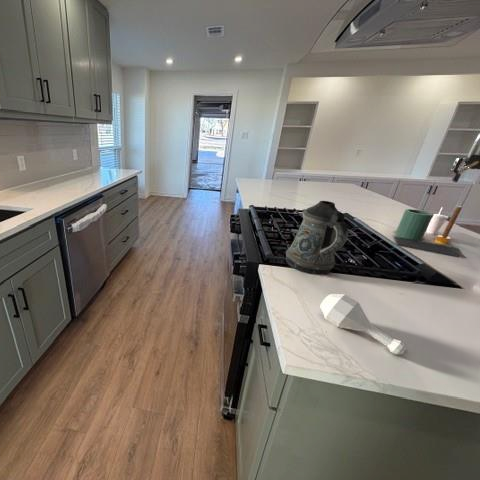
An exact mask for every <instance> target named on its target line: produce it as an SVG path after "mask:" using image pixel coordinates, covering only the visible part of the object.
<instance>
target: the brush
mask: <svg viewBox="0 0 480 480" xmlns="http://www.w3.org/2000/svg"><path fill="white" fill-rule="evenodd" d="M462 209H463V206H461V205H456V207H455V209H454V211H453V213H452V215H451V217H450V219H449V221H448V222H447V225H446V226H445V229H444V230H443V232H442V234H436V237H435V238H434V243H435V244H439V245H445V246H449V244H450V243H451V241H452V237H451V236H449V234H450V232H451V231H452V228H453V226H454V224H455V222H456V221H457V219H458V217H459V215H460V213H461V211H462Z"/></svg>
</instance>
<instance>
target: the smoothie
mask: <svg viewBox="0 0 480 480" xmlns="http://www.w3.org/2000/svg"><path fill="white" fill-rule="evenodd" d="M440 207H441V208H440V210H439V212H438V213H433V214H434V215H433V217H432V219H431V221H430V223H429V225H428V228H427V230H426V233H427V234H430V235H438V234H437V233H438V232H439V231H440V229H441V228H442V227H443V225H444V224H445V223H446V221H447V220H448V219H449V216H447V215H445V214H441V213H442V210H443V209H444V207H443V206H440Z"/></svg>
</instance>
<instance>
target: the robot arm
mask: <svg viewBox="0 0 480 480" xmlns="http://www.w3.org/2000/svg"><path fill="white" fill-rule="evenodd" d="M462 163H464V164H463V165H461V164H462ZM467 170H480V133H479V134H478V136H477V137H476V139H475V140H474V142H473V145H472V146H471V149H470V151H469V153H468V155H467V157H466V158H463V157H457V158H455V160H454V162H453V163H452V166H451V168H450V170H449V171H450V172H452V173H454V174H453V176H452V178H451V181H452V182H453V183H458V181H459V179H460V177H461V175H462V173H463V172H465V171H467ZM478 184H479V185H480V181H479V182H478Z"/></svg>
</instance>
